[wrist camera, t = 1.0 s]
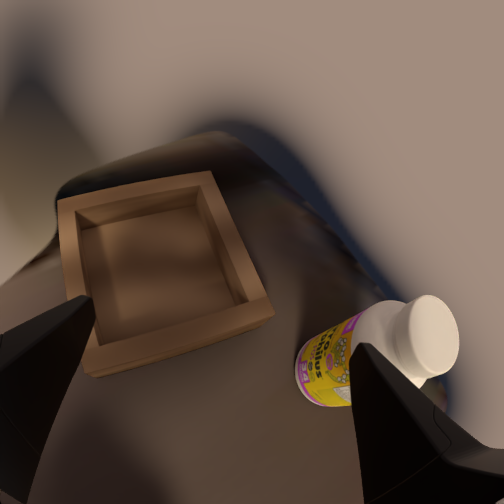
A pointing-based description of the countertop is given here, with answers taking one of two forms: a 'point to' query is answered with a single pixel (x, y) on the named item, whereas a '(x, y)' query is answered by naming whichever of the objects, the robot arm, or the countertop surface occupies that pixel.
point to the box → (158, 270)
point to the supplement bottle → (379, 347)
